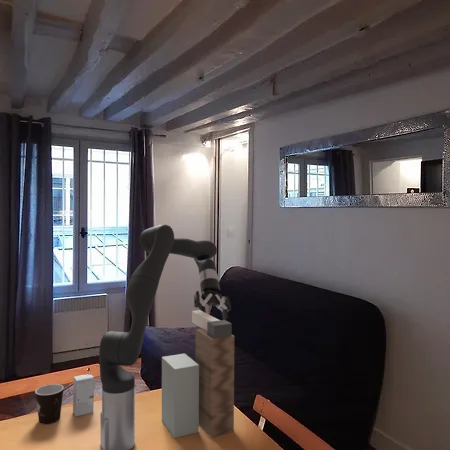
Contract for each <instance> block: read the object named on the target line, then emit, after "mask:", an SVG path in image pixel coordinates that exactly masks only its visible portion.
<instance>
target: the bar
mask: <svg viewBox="0 0 450 450" xmlns="http://www.w3.org/2000/svg"><path fill="white" fill-rule="evenodd" d="M191 323H193V324H195V326H197V327H199V328H200V329H204V330H206V331H207V335H209V336H210V337H212V338H214V339H217V338H224V337H231V336H232V335H233V333H232V331H233V330H232V329H233V324H232V323H231V322H230V321H228V320H227V319H226V320H223V319H222V320H221V319H218V318H216V317H214V316H213V315H210V314H209V313H207V312H206V313H205V312H203V311H201V310H200V309H198V310H192V311H191Z"/></svg>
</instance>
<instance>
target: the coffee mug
mask: <svg viewBox="0 0 450 450" xmlns="http://www.w3.org/2000/svg"><path fill="white" fill-rule="evenodd" d="M34 392H35V393H34V394H35V400H36V409H37V417H38V423H39V424H41V425H52V424H54V423H57V422H59V421H60V419H61V411H62V404H63V397H64V385H62V384H58V383H54V384H53V383H50V384H45V385H42V386H39V387H37V388H36V389H35V391H34Z"/></svg>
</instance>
